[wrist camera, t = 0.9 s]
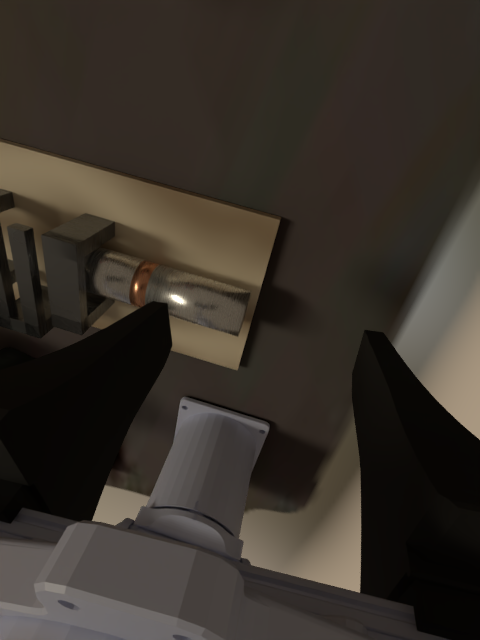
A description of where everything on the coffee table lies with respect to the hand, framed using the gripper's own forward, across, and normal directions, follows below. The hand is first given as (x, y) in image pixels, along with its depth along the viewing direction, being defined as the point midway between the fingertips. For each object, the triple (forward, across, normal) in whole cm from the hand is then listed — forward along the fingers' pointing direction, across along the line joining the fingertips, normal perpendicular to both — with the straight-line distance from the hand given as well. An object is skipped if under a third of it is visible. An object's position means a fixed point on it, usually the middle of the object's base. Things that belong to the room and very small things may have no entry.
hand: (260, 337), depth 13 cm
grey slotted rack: (+9, +16, +3) cm, 19 cm away
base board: (+10, +12, +3) cm, 16 cm away
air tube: (+8, +8, +3) cm, 12 cm away
